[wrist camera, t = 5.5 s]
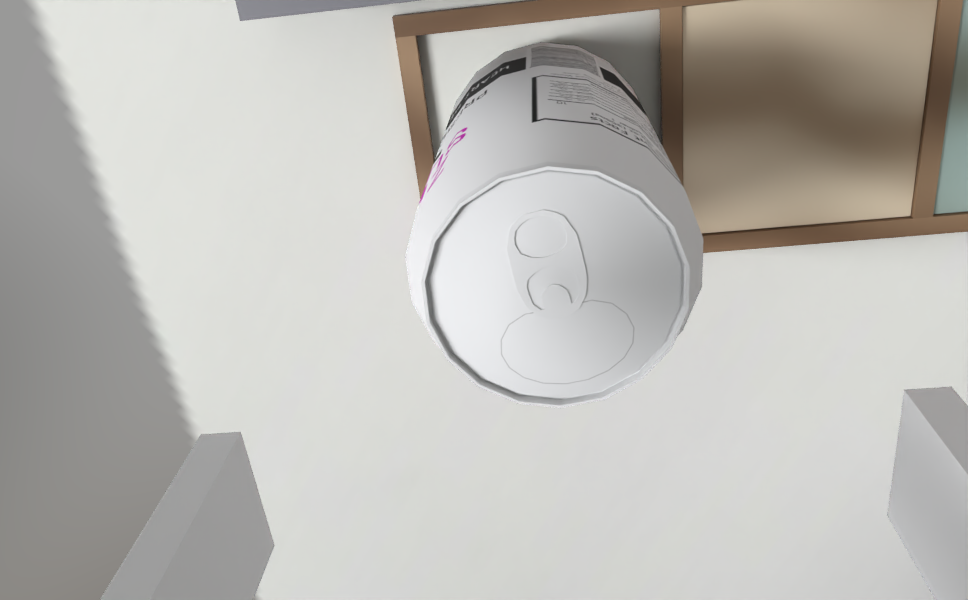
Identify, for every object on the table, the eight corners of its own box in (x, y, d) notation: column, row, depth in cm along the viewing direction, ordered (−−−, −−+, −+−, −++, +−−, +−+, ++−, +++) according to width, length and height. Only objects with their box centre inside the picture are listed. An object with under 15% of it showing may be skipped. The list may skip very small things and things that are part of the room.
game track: (1185, 210, 34) (1192, 213, 34) (433, 271, 38) (432, 274, 37) (1269, -84, 29) (1277, -83, 29) (393, 15, 33) (392, 16, 32)
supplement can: (659, 205, 36) (735, 394, 22) (477, 246, 37) (446, 447, 24) (624, 16, 32) (690, 105, 19) (425, 69, 34) (355, 187, 20)
